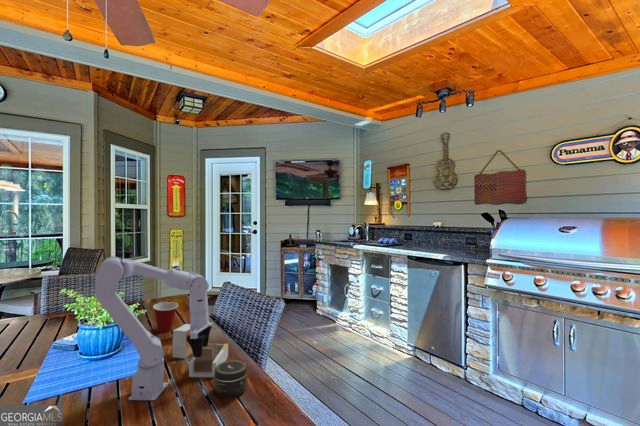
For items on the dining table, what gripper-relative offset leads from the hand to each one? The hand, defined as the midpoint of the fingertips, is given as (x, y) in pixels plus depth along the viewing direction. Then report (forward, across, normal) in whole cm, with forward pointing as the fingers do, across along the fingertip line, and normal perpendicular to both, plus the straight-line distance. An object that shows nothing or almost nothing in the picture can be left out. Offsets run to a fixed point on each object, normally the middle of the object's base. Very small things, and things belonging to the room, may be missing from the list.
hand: (201, 351), depth 111 cm
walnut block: (+8, +5, 0) cm, 10 cm away
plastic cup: (+9, +46, +30) cm, 56 cm away
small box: (+10, +20, +12) cm, 26 cm away
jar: (+10, -8, -11) cm, 17 cm away
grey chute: (+10, +9, 0) cm, 14 cm away
